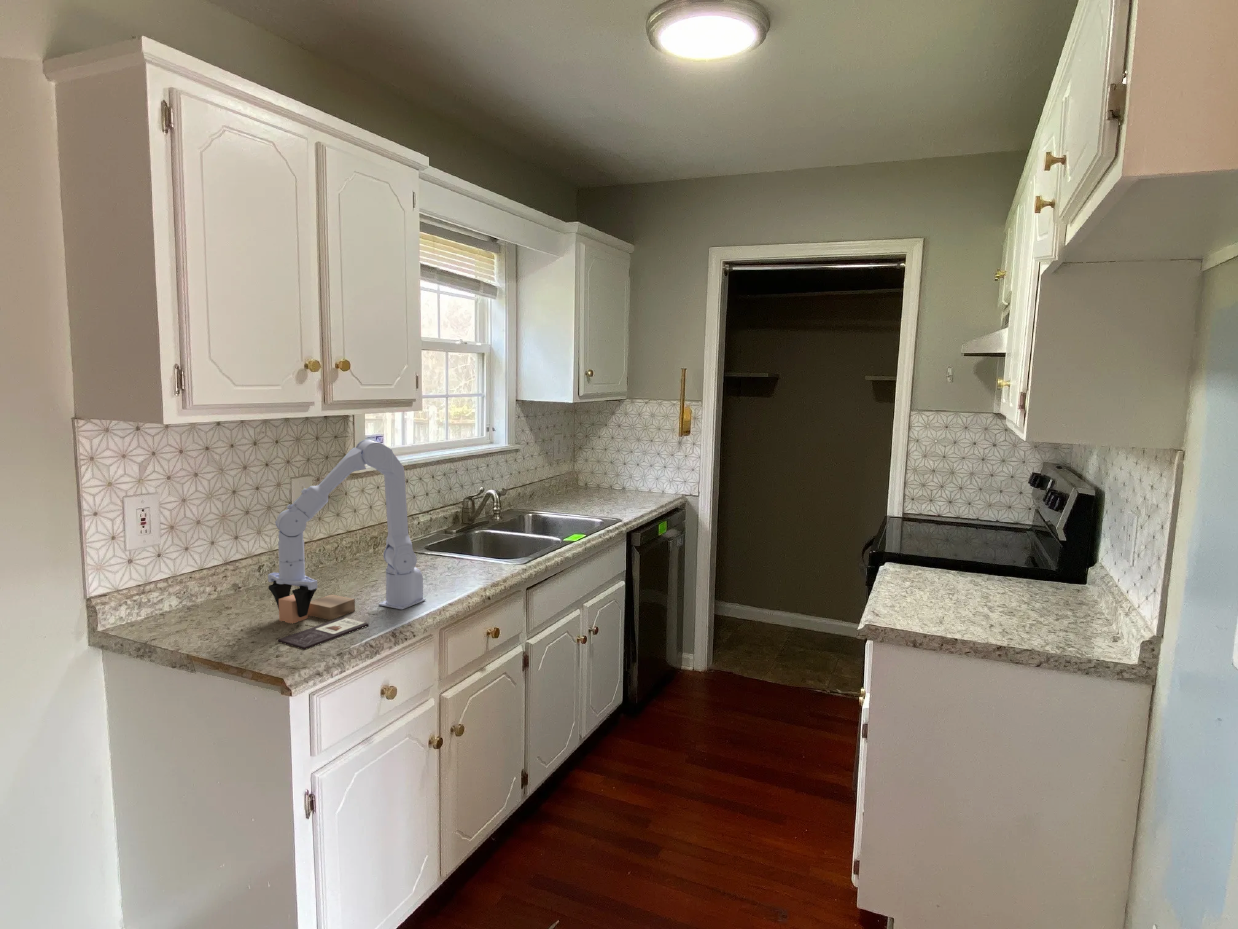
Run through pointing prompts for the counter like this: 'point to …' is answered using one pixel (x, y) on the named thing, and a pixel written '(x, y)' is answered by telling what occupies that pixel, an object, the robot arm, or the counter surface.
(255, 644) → the counter surface
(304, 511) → the robot arm
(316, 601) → the walnut base block
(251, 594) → the counter surface
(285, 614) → the terracotta block
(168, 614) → the counter surface
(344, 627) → the chocolate bar
